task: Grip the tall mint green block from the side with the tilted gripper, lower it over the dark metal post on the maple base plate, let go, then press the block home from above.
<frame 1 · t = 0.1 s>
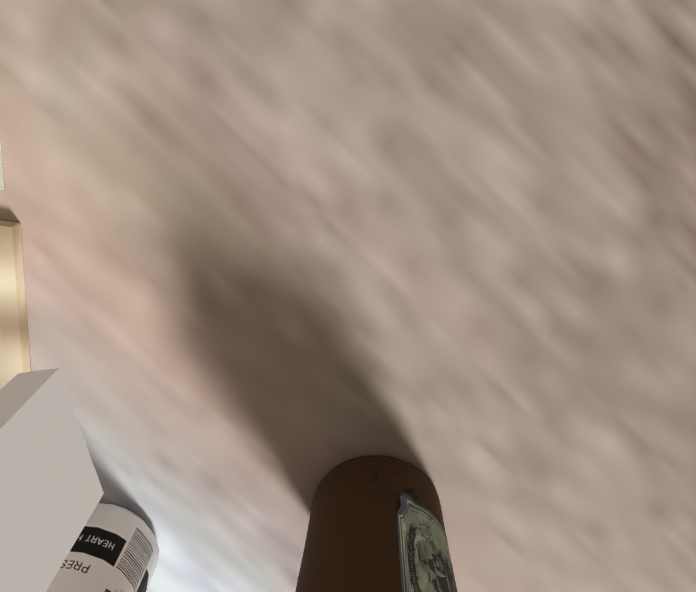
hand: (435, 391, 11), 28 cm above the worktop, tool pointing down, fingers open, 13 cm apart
olive oil: (377, 505, 47), on the worktop
supplement can: (110, 537, 49), on the worktop
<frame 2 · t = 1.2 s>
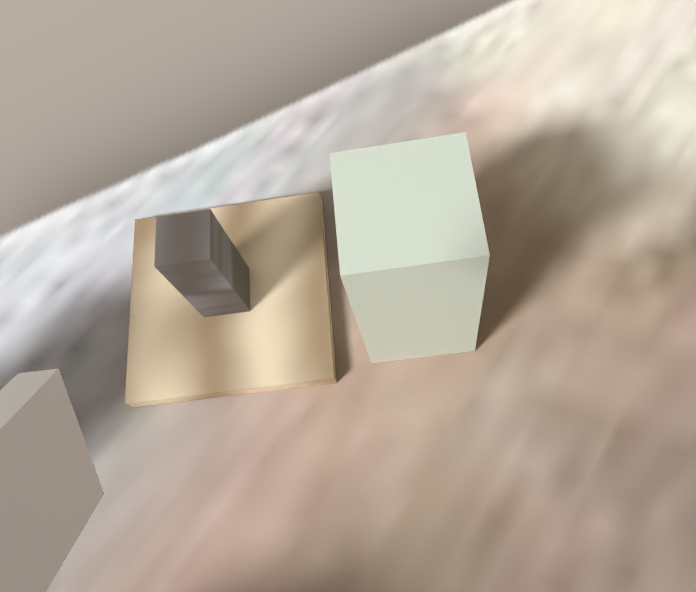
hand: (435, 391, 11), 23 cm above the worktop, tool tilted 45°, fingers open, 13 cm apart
tall mint green block: (416, 309, 36), on the worktop
post base: (231, 298, 38), on the worktop
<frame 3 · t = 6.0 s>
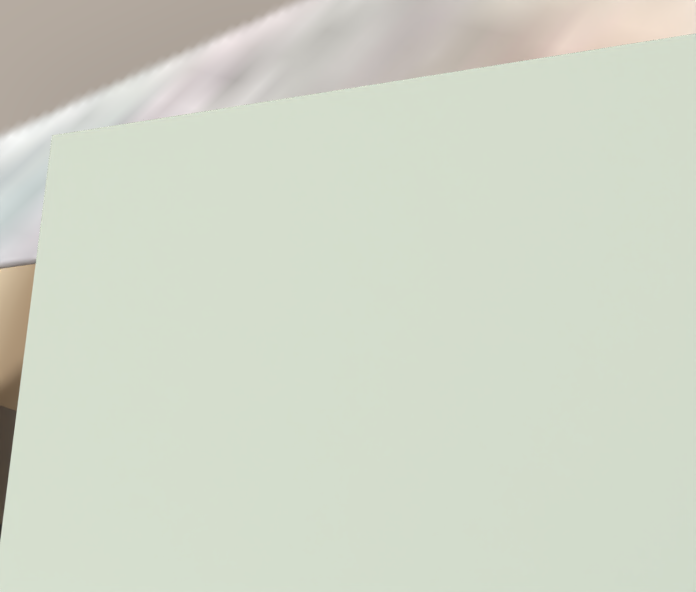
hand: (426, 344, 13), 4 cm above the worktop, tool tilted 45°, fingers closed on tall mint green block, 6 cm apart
tall mint green block: (450, 543, 14), on the worktop, touching gripper
post base: (13, 490, 16), on the worktop
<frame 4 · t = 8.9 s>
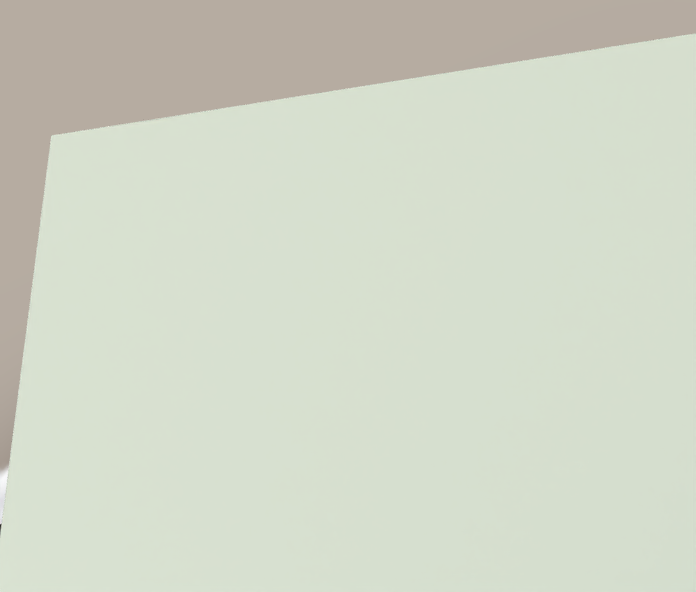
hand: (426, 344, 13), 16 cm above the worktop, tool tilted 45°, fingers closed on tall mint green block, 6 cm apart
tall mint green block: (450, 543, 14), point 13 cm above the worktop, touching gripper
when the fingers open (5 cm above the worktop, at t = 12.3 s): tall mint green block stays where it is, resting on post base.
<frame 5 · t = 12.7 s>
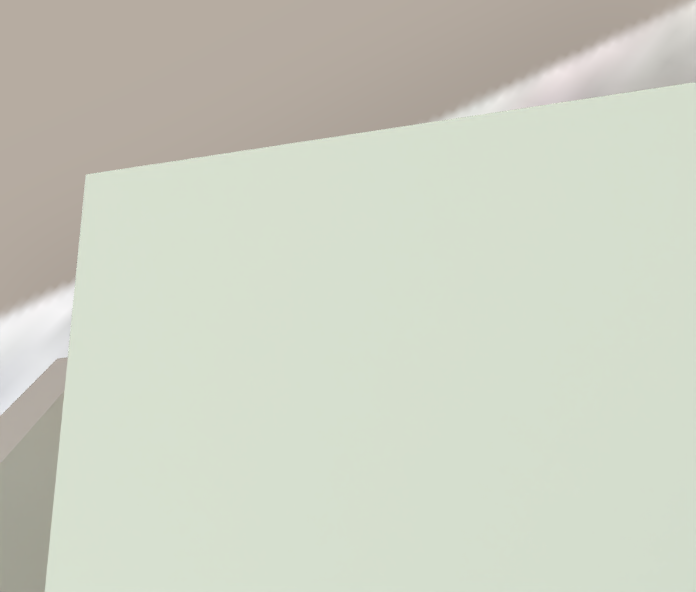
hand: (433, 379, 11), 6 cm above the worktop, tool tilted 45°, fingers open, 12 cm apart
tall mint green block: (451, 545, 15), point 1 cm above the worktop, touching post base
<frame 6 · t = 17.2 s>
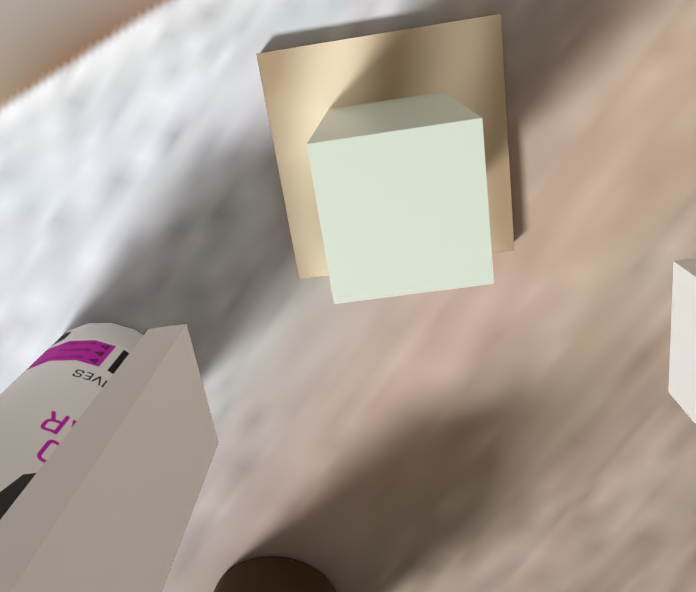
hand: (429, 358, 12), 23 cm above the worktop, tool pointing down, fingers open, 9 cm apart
tall mint green block: (392, 157, 33), point 1 cm above the worktop, touching post base
post base: (391, 154, 34), on the worktop
supplement can: (117, 375, 40), on the worktop
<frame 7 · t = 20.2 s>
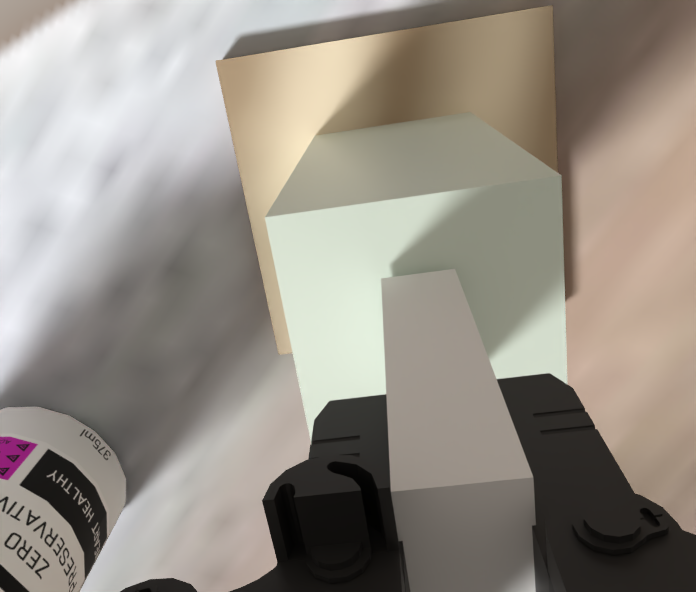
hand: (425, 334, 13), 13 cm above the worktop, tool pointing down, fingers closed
tall mint green block: (401, 200, 24), point 1 cm above the worktop, touching gripper, post base
post base: (399, 193, 25), on the worktop
supplement can: (51, 467, 31), on the worktop
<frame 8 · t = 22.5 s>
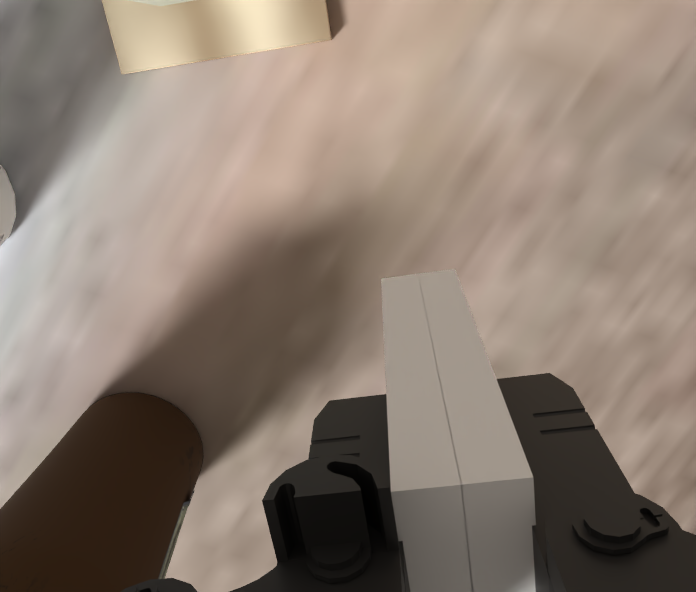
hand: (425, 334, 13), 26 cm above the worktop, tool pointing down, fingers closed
olive oil: (141, 446, 46), on the worktop
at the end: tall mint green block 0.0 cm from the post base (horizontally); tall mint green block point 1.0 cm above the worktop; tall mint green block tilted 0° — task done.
